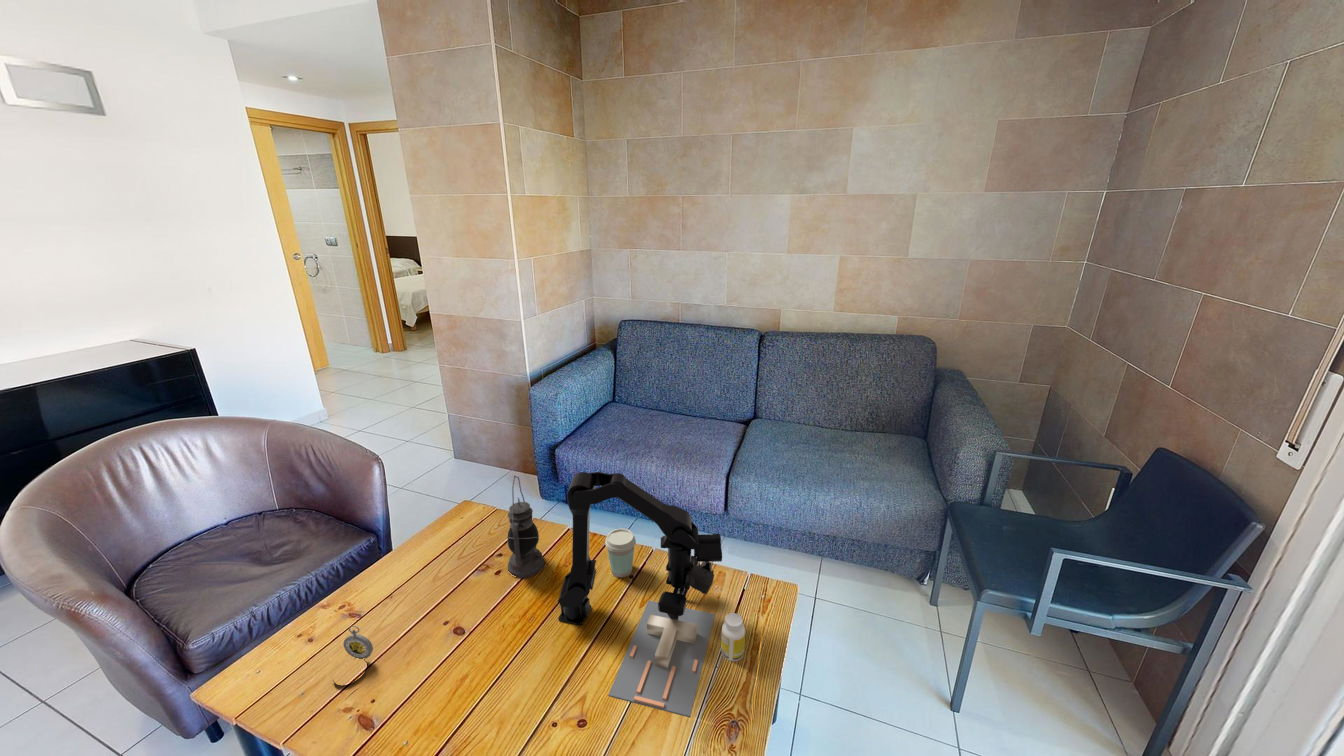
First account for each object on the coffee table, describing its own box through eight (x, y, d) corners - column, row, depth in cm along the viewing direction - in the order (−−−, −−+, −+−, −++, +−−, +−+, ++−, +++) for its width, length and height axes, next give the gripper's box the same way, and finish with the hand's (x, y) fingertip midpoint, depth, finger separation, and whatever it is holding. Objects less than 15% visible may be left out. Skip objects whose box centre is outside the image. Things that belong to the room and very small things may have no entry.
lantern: (538, 580, 139) (528, 487, 129) (501, 580, 139) (487, 487, 129) (549, 551, 150) (540, 464, 141) (514, 551, 151) (503, 464, 141)
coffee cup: (642, 568, 143) (641, 533, 140) (624, 586, 137) (623, 550, 133) (619, 557, 148) (617, 523, 144) (600, 574, 141) (598, 539, 137)
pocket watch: (331, 692, 107) (321, 657, 103) (336, 662, 114) (326, 628, 110) (375, 677, 110) (366, 642, 107) (376, 648, 117) (368, 615, 114)
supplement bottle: (746, 646, 118) (748, 613, 114) (741, 665, 113) (743, 631, 110) (723, 640, 119) (725, 608, 116) (718, 658, 114) (719, 625, 111)
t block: (636, 660, 113) (636, 650, 112) (650, 623, 124) (650, 614, 123) (687, 672, 111) (687, 662, 110) (697, 633, 121) (697, 624, 120)
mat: (608, 696, 106) (608, 693, 105) (648, 601, 131) (648, 598, 131) (690, 717, 101) (690, 714, 101) (715, 615, 127) (715, 612, 126)
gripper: (704, 592, 111) (702, 645, 117) (718, 541, 129) (716, 589, 134) (657, 583, 114) (657, 635, 119) (676, 534, 131) (676, 582, 136)
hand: (679, 609), depth 127 cm, fingers open, 9 cm apart
